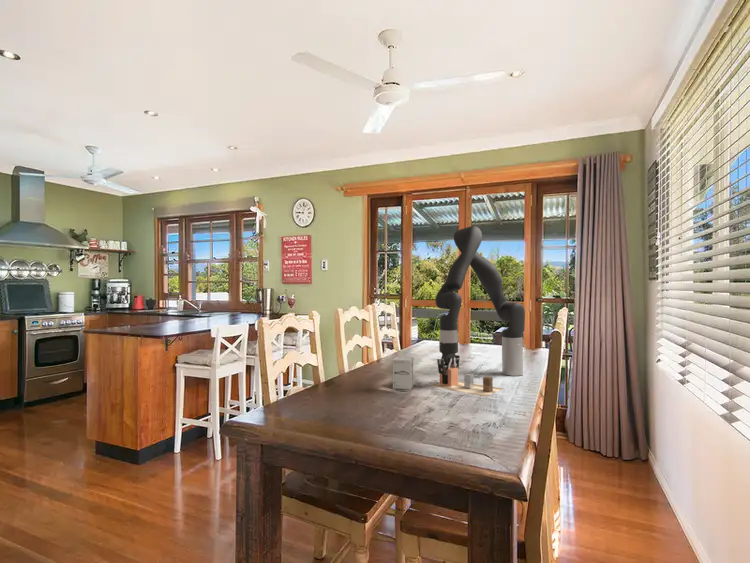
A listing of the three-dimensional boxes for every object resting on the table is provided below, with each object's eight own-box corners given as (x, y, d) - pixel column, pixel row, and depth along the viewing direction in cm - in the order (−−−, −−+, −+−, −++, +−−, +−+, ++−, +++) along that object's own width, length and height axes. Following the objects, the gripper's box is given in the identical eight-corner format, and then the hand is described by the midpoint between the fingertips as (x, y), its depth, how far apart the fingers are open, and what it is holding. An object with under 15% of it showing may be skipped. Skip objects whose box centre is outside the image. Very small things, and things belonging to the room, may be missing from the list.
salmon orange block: (446, 381, 172) (446, 366, 172) (458, 383, 169) (458, 367, 169) (439, 384, 168) (439, 368, 168) (451, 386, 165) (451, 369, 165)
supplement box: (392, 391, 162) (392, 359, 162) (395, 386, 170) (395, 356, 170) (411, 392, 161) (410, 360, 161) (413, 387, 168) (413, 356, 168)
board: (449, 382, 177) (449, 379, 177) (503, 391, 161) (503, 388, 161) (430, 389, 166) (430, 386, 166) (486, 399, 150) (486, 396, 150)
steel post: (467, 386, 165) (467, 373, 165) (473, 387, 163) (473, 374, 163) (464, 387, 163) (464, 374, 163) (470, 388, 161) (470, 375, 161)
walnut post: (486, 389, 159) (486, 376, 159) (492, 390, 158) (492, 377, 158) (483, 391, 157) (483, 377, 157) (489, 392, 156) (489, 378, 156)
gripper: (449, 338, 177) (450, 378, 176) (431, 342, 166) (431, 384, 166) (465, 339, 172) (465, 380, 172) (447, 343, 161) (447, 387, 161)
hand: (448, 382), depth 169 cm, fingers closed on salmon orange block, 5 cm apart
